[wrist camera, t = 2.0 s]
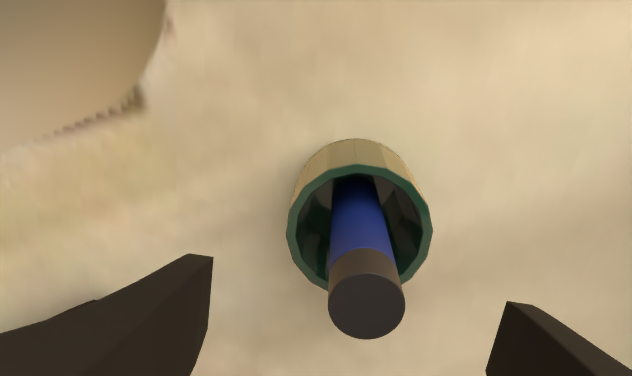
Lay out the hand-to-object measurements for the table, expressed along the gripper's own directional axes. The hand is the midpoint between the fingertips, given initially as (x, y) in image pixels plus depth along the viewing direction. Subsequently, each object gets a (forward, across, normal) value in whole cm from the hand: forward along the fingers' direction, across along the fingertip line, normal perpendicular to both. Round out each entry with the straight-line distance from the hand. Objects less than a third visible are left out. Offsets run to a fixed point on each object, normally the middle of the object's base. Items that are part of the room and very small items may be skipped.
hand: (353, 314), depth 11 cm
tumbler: (+10, 0, 0) cm, 10 cm away
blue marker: (+9, 0, 0) cm, 9 cm away
